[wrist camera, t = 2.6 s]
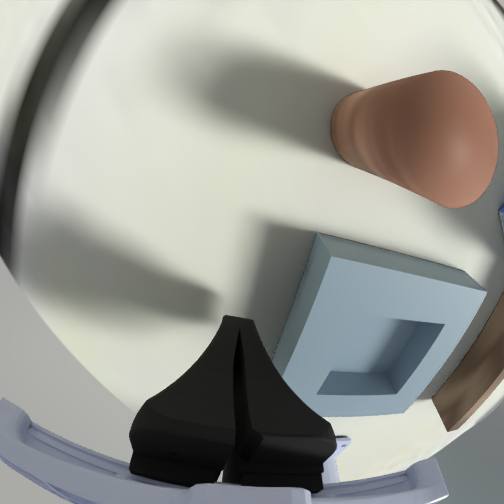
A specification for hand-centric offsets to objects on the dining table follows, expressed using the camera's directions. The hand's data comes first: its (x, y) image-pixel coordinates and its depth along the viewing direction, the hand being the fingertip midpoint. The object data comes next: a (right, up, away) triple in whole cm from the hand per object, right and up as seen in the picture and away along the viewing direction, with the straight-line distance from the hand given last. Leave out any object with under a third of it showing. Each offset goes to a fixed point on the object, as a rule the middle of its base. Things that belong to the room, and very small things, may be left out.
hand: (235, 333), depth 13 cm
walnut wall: (+19, -3, +3) cm, 19 cm away
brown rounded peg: (+6, +9, -2) cm, 11 cm away
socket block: (+7, -1, +2) cm, 8 cm away
